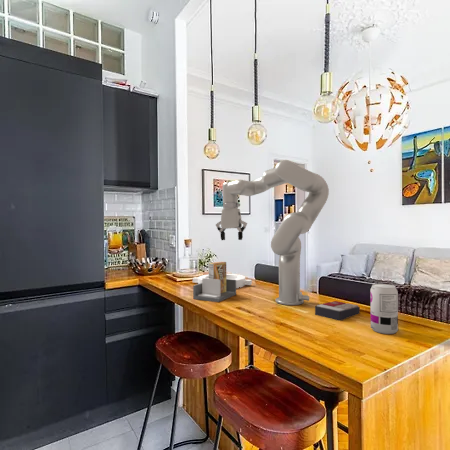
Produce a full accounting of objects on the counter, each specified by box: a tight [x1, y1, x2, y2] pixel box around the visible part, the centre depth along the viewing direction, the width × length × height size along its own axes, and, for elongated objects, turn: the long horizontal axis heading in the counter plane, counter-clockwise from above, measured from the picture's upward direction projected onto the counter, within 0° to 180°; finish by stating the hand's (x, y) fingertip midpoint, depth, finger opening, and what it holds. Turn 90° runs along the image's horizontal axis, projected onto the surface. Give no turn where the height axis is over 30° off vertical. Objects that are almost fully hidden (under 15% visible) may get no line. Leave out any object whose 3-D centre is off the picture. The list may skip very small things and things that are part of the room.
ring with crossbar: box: [192, 273, 253, 289], centre depth 191 cm, size 28×28×5 cm
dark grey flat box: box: [314, 300, 361, 322], centre depth 127 cm, size 11×4×15 cm
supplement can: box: [369, 283, 399, 335], centre depth 107 cm, size 8×8×15 cm
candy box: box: [208, 261, 227, 293], centre depth 161 cm, size 9×4×15 cm, turn 135°
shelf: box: [192, 278, 237, 303], centre depth 159 cm, size 14×18×10 cm
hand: (231, 239), depth 163 cm, fingers open, 9 cm apart
